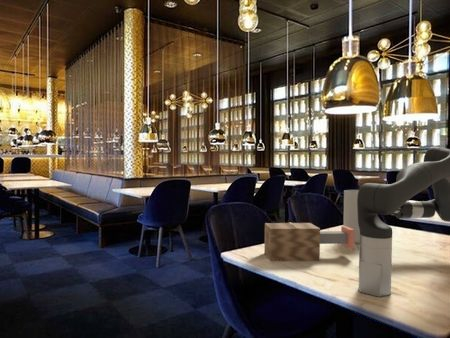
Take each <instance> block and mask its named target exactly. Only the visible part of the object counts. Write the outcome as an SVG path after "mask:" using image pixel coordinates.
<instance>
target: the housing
mask: <svg viewBox="0 0 450 338" xmlns="http://www.w3.org/2000/svg"><path fill="white" fill-rule="evenodd" d="M320 231H321V228H320V227H318V226H316V225H314V224H313V223H312V222H290V221H289V222H274V223H273V222H265V223H264V255H265V256H266V258H267V259H268V260H269V262H320V258H321V257H320V254H321V252H320V251H321V244H320Z"/></svg>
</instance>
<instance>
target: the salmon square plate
mask: <svg viewBox="0 0 450 338" xmlns="http://www.w3.org/2000/svg"><path fill="white" fill-rule="evenodd" d="M323 244H324V245H325V244H326V245H329V244H330V245H331V244H333V245H336V244H337V245H338V244H340V245H341V246H343V247H345V248H346V249H348V250H354V249H355V243H354V229H351V228H349V227H347V226H343V225H341V229H340V230H339V231H330V230H328V231H322V230H320V245H323Z"/></svg>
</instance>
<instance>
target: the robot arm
mask: <svg viewBox="0 0 450 338" xmlns="http://www.w3.org/2000/svg"><path fill="white" fill-rule="evenodd" d="M448 177H450V148H445V147H440V146H436V145H434V146H430V147H429V148H427V150H426V152H425V153H424V156H423V161H421V162H415V163H412V164H409V165H408V166H407V165H406V166H405V167H404V168H402V169H401V170H400V171H398V173H397V175H396V180H395V182H393V183H391V184H390V183H389V184H388V183H387V184H386V183H374V182H366V183H363V184H362V185H361V186H360V187H359V189H358V190H359V191H358V196H357V209H358V226H359V229H360V244H359V247H358V248H359V249H358V251H359V252H358V253H359V254H358V255H359V256H358V291H359V292H360V293H363V294H366V295H370V296H374V297H379V298H381V297H386V296H389V295H390V294H392V267H393V266H392V263H393V261H392V257H393V228H392V226H390V225H389V224H387V223H386V222H384V221H382V220H381V219H380V217H379V215H384V216H387V215H391V216H395V217H396V218H397V219H399V220H400V219H401V220H402V219H425V218H428V219H429V218H433V217H434V216H435V214H437V215H438V217H439V219H441V220H442V221H444V222H447V223H449V222H450V180H449V179H448ZM430 186H431V187H432V190H433V199H431V200H430V199H429V200H427V201H426V200H425V201H424V200H422V201H421V200H420V201H418V200H410V199H412V198H413V197H414V196H417V194H419V193H421V192H422V191H424V190H426V189H427V188H429V187H430Z"/></svg>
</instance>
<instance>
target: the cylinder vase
mask: <svg viewBox="0 0 450 338" xmlns="http://www.w3.org/2000/svg"><path fill="white" fill-rule="evenodd" d="M358 191H359V189H347V190H346V189H345V190H343V225H342V226H347V227H349V228H351V229H354V244H359V245H360V229H359V226H358V209H357V196H358Z"/></svg>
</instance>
